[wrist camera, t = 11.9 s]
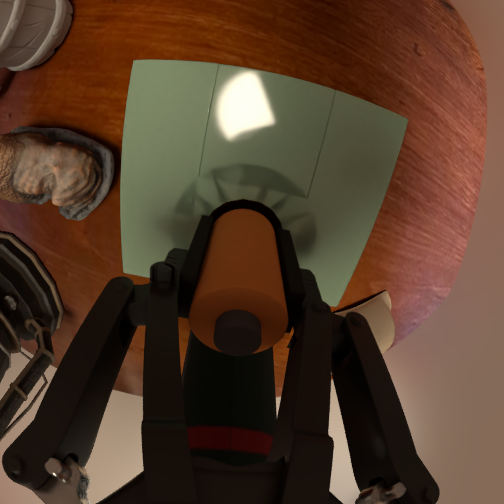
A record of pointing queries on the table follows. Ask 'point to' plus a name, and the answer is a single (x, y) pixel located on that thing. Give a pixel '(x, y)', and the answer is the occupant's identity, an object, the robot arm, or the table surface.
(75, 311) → the table surface
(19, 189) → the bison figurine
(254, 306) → the orange cylinder
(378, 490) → the robot arm
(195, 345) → the wine bottle
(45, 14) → the mug
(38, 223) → the table surface
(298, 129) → the green peg socket base
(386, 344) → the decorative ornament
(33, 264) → the lantern
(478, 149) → the table surface
